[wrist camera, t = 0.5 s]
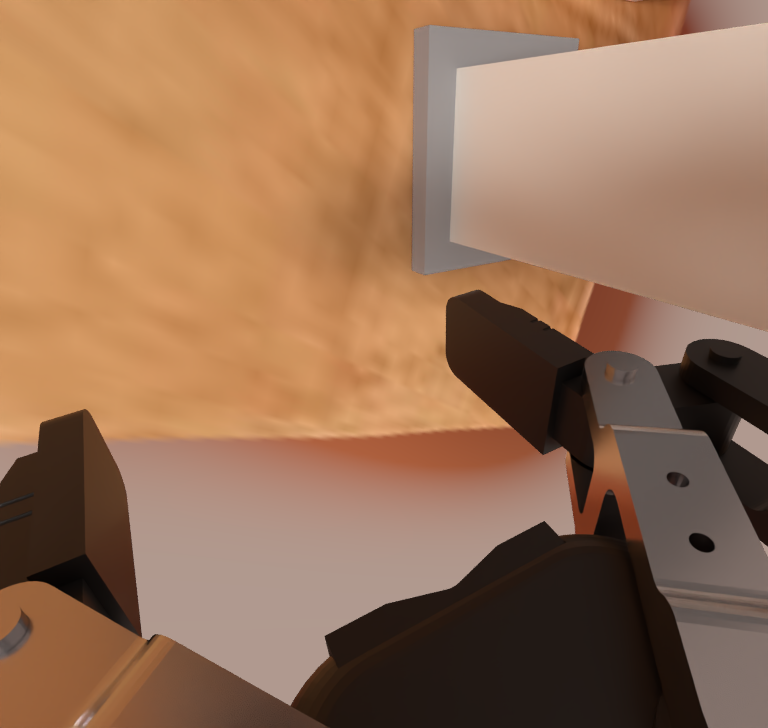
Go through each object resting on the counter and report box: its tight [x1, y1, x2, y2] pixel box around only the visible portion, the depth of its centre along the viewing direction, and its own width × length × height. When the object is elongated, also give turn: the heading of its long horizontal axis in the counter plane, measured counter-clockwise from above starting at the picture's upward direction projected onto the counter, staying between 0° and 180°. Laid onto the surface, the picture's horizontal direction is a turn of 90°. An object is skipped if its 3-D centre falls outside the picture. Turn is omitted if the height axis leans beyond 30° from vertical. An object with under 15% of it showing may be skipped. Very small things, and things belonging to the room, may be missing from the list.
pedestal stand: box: [412, 23, 768, 332], centre depth 21 cm, size 18×14×32 cm
